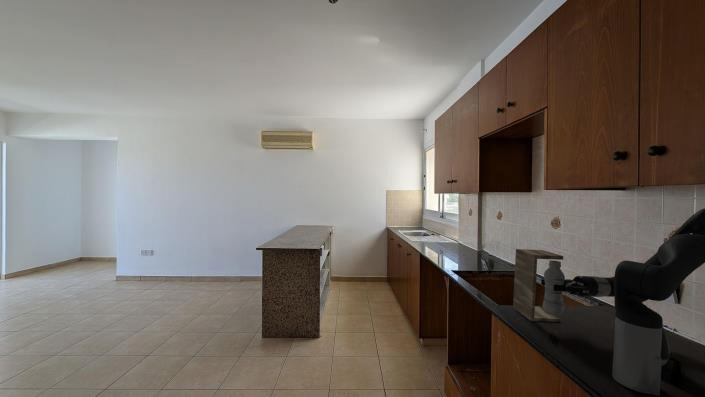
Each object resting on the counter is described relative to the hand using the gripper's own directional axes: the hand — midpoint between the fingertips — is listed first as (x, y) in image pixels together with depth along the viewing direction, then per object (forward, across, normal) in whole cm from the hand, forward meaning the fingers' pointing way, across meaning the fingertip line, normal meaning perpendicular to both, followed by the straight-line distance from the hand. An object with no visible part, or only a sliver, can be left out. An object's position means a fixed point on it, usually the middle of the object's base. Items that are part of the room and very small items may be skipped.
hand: (547, 285), depth 111 cm
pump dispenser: (-18, +20, +18) cm, 32 cm away
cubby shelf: (-6, -16, +18) cm, 24 cm away
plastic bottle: (-2, 0, +11) cm, 11 cm away
